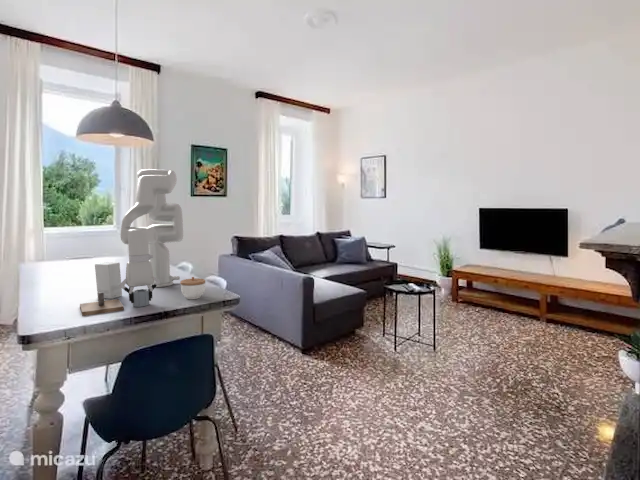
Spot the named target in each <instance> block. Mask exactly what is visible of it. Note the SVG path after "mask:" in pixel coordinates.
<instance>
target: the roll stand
mask: <svg viewBox="0 0 640 480" xmlns="http://www.w3.org/2000/svg"><path fill="white" fill-rule="evenodd" d="M124 308H125V307H124V305H123V303H122V302H121V300H120V299H119V298H116V299H115V298H114V299H108V300H105V298H104V292H100V293H98V295H97V301H93V302H92V301H91V302H85V303H79V309H80V312H81V316H82V317H83V316H84V317H85V316H92V315H97V314H107V313H111V312H112V313H113V312H120V311H124V310H125V309H124Z"/></svg>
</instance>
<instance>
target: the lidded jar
mask: <svg viewBox="0 0 640 480" xmlns="http://www.w3.org/2000/svg"><path fill="white" fill-rule="evenodd" d="M205 289H206V279H204V278H200V277H199V278H195V276H192V277H191V278H185V279H182V280H180V290H181V293H182V295H183V296H184V297H186V299H187V300H197V299H200V298H201V297H202V296H203V294H204V293H205Z"/></svg>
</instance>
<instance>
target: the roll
mask: <svg viewBox="0 0 640 480" xmlns="http://www.w3.org/2000/svg"><path fill="white" fill-rule="evenodd" d="M133 294H134V303H132V306H133V307H134V308H135V307H139V308H141V307H147V306H149V305H150V301H149V290H148V288H138V289H133Z"/></svg>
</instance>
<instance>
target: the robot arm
mask: <svg viewBox="0 0 640 480" xmlns="http://www.w3.org/2000/svg"><path fill="white" fill-rule="evenodd" d="M137 179H138V180H137V187H136V195H135V196H136V198H135V204H134V206H132V207H131V208H130V209H129V210H128V211H127V212H126V213H125V215H124V216H123V218H122V220H121V227H120V241H121V243H123V244H124V245H128V262H126V267H125V279H123V281H121V284H120V285H119V286H120V287H121V288H122V290H124V291H125V292H126V293H128V301H129V302H130V303H131V304H133V303H134V294H133V290H135V289H134V288H135V287H136V288H137V287H145V286H146V287H147V289H148V290H149V302H151V301H152V299H153V291H154V290H155V288H163V287H164V288H165V287H169V286H173V285H174V281H177V280H179V281H181V280H180V279H181V278H180V275H178V276H177V275H171V269H170V268H171V267H170V266H171V265H170V262H171V261H170V259H171V258H170V249H169V248H168V247H167V245H165V244H166V243H167V244H169V243H180V242H182V241H183V239H184V223H183V210H182V207H181V205H180V204H178V203H175V202H174V203H173V202H172V203H171V202H170V203H169V202H167V201H166V194H167V195H168V194H171V193H172V192H173V190H174V188H175V186H176V184H177V174H176V173H175V171H174V170H171V169H154V168H153V169H152V168H151V169H150V168H148V169H146V168H145V169H140V170H139V171H138V172H137ZM147 214H148V218H149V220H150V221H152V222H158V223H157V224H151V225H149V226H132V223H133V222H134V221H135V220H136V219H138V218H140V217H143V216H145V215H147ZM160 222H161V223H160ZM162 222H163V223H162ZM165 222H166V223H165ZM169 222H170V223H169ZM167 223H169V224H167ZM125 285H127V286H128V287H127V286H125Z"/></svg>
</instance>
